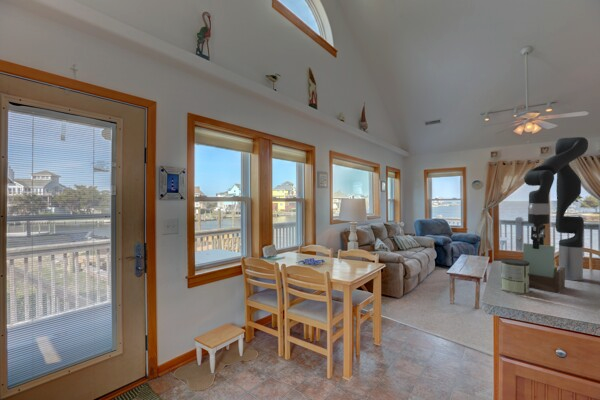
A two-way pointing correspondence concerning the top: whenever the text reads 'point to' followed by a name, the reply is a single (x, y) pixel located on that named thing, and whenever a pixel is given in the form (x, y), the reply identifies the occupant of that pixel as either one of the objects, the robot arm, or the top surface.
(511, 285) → the coffee can
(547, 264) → the tall sheet
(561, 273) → the rack
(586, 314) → the top surface
